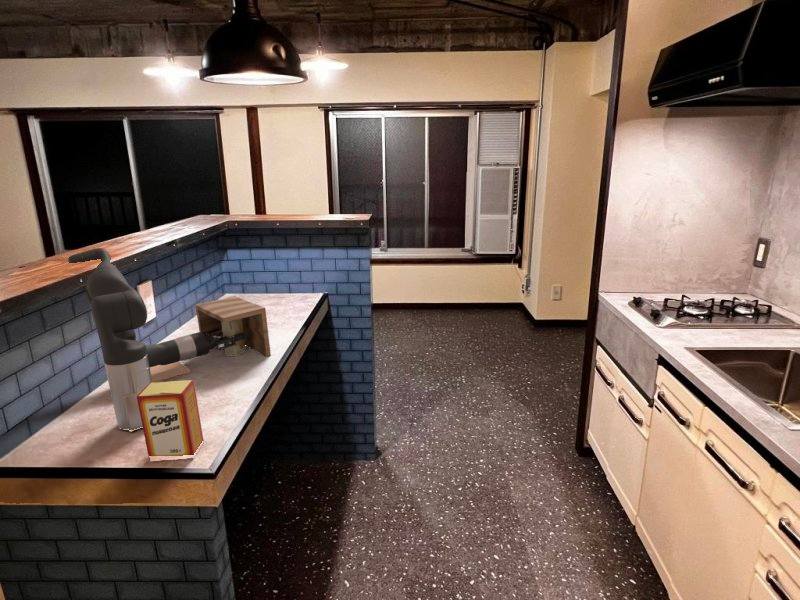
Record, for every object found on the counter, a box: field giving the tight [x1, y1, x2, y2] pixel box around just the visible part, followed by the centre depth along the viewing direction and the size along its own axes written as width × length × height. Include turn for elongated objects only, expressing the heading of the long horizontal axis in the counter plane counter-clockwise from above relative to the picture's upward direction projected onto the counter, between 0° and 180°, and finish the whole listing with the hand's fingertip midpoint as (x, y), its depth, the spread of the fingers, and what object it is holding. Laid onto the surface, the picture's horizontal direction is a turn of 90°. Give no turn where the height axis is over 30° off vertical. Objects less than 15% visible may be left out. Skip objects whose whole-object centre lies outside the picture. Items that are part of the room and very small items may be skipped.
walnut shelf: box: [195, 296, 272, 358], centre depth 165 cm, size 22×14×16 cm, turn 43°
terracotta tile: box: [150, 361, 191, 383], centre depth 154 cm, size 12×12×1 cm
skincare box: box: [221, 318, 246, 357], centre depth 166 cm, size 6×4×12 cm
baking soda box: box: [137, 379, 204, 457], centre depth 109 cm, size 10×6×16 cm
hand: (239, 333), depth 167 cm, fingers closed on skincare box, 7 cm apart
